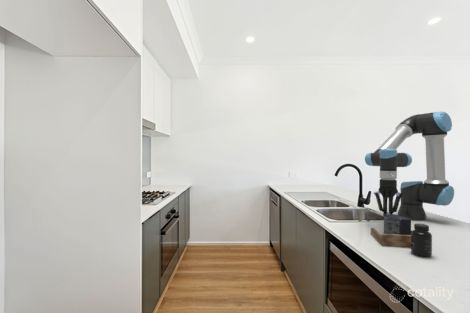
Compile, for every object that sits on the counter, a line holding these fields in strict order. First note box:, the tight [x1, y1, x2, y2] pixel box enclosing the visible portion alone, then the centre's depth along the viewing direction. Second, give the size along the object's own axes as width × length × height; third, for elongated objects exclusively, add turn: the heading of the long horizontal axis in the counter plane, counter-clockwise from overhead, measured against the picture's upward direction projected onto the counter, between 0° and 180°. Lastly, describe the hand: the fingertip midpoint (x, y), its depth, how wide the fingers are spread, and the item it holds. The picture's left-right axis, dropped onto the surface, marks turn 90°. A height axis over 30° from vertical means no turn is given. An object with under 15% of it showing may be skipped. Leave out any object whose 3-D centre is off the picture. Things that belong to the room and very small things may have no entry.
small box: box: [383, 213, 412, 235], centre depth 123 cm, size 11×6×10 cm, turn 10°
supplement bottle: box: [410, 223, 433, 259], centre depth 103 cm, size 7×7×12 cm
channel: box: [370, 227, 413, 249], centre depth 119 cm, size 18×18×5 cm
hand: (387, 225), depth 130 cm, fingers closed
